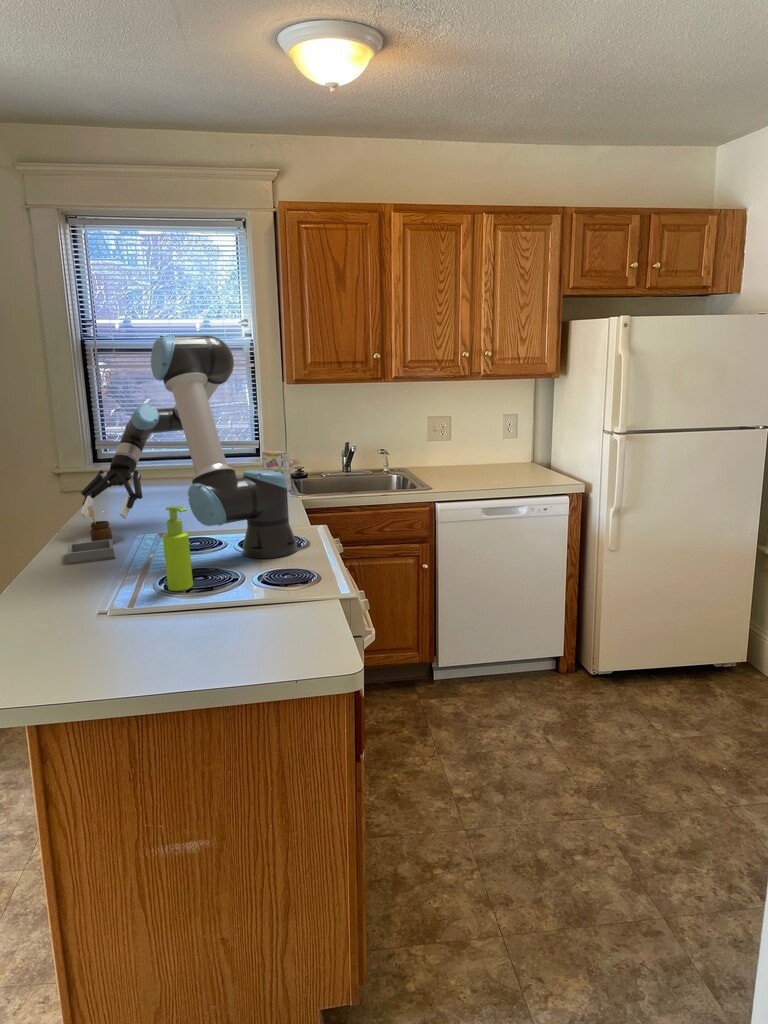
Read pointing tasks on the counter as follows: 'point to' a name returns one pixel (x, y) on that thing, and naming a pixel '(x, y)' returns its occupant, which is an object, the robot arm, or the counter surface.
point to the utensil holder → (99, 528)
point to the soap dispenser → (177, 553)
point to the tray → (90, 551)
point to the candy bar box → (277, 464)
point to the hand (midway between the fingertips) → (103, 516)
